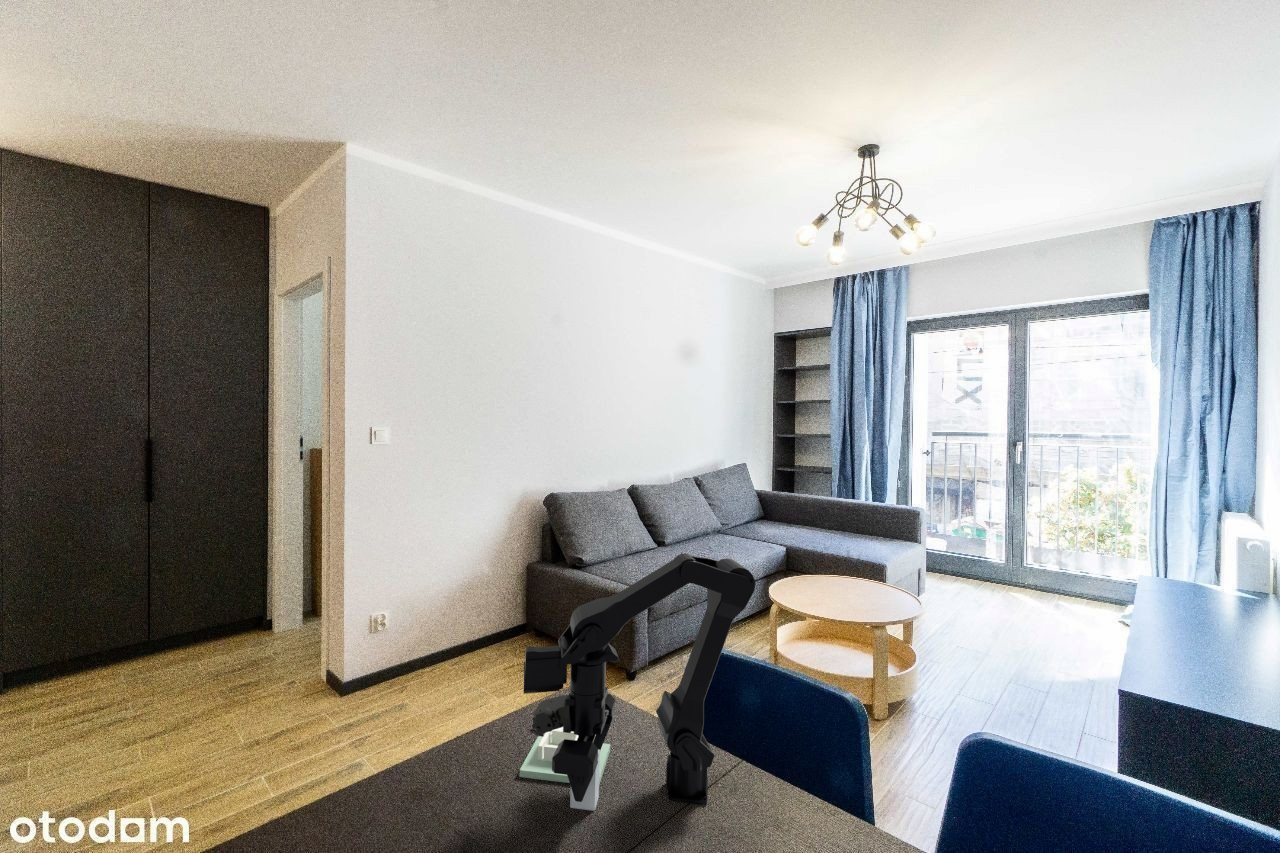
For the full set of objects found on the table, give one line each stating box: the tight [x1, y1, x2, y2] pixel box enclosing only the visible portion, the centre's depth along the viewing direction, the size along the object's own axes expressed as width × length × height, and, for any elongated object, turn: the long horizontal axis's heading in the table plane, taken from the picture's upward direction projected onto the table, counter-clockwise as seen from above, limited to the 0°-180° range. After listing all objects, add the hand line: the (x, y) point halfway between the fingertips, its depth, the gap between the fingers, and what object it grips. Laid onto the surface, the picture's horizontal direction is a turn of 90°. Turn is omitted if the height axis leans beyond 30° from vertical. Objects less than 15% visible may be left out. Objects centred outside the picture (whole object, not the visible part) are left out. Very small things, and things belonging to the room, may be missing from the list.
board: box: [519, 729, 611, 786], centre depth 97 cm, size 14×10×4 cm
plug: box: [569, 749, 600, 812], centre depth 87 cm, size 4×3×9 cm
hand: (585, 782), depth 87 cm, fingers open, 8 cm apart
